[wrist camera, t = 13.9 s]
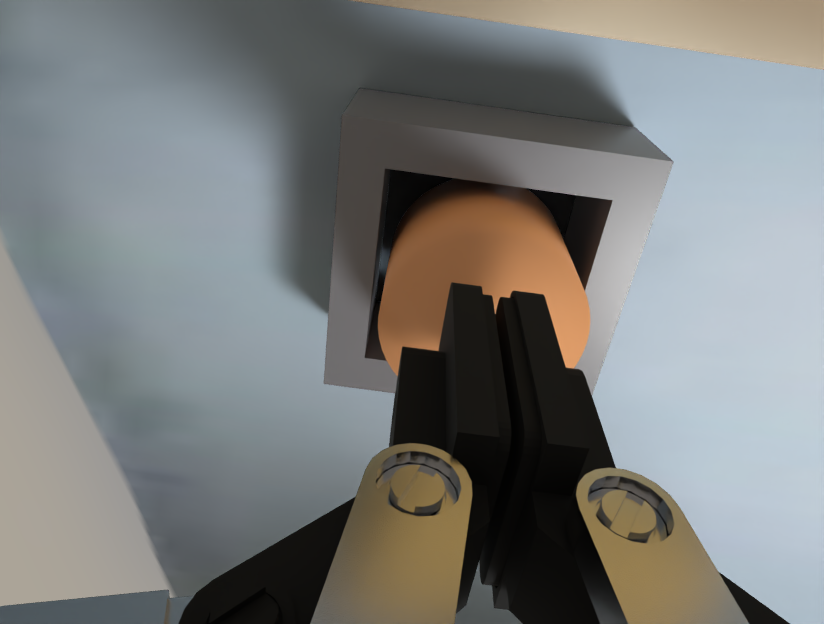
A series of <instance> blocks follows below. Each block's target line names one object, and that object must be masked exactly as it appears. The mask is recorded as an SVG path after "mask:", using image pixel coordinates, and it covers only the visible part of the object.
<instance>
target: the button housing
mask: <svg viewBox="0 0 824 624" xmlns="http://www.w3.org/2000/svg"><path fill="white" fill-rule="evenodd" d="M672 165H673V161H672V160H671V159H670V158H669V157H668V156H667V155H666V154H665V153H663V152H662V151H661V150H660V149H659V148H658V147H657V146H656V145H654V144H653V143H652V142H651V141H650V140H649V139H648V138H647V137H646V136H644V135H643V134H642V133H641V132H640V131H639V130H638V129H637V128H635V127H629V126H622V125H615V124H608V123H601V122H594V121H587V120H580V119H573V118H566V117H559V116H552V115H545V114H538V113H531V112H524V111H517V110H510V109H503V108H496V107H489V106H482V105H475V104H468V103H461V102H454V101H447V100H440V99H433V98H426V97H419V96H412V95H405V94H398V93H391V92H384V91H377V90H370V89H363V88H359V90H358V91H357V93H356V94H355V96H354V97H353V99H352V100H351V102H350V103H349V105H348V106H347V108H346V109H345V111H344V112H343V114H342V122H341V137H340V152H339V167H338V181H337V196H336V211H335V225H334V240H333V255H332V270H331V284H330V299H329V314H328V328H327V343H326V358H325V373H324V384H329V385H336V386H344V387H352V388H359V389H367V390H374V391H382V392H390V393H395V392H396V384H397V377H398V376H397V375H396V374H395V373H394V372H393V370H392V369H391V367H390V365H389V364H388V362H387V360H386V358H385V356H384V353H383V351H382V348H381V344H380V340H379V333H378V315H379V310H380V305H381V302H378V301H376V297H377V288H378V279H379V271H380V262H381V253H382V244H383V235H384V226H385V217H386V208H387V199H388V190H389V182H390V173H391V169H393V170H400V171H407V172H414V173H421V174H428V175H436V176H443V177H450V178H457V179H464V180H471V181H478V182H486V183H493V184H500V185H507V186H514V187H521V188H529V189H536V190H543V191H550V192H557V193H564V194H571V195H576V197H575V201H574V205H573V208H572V212H571V216H570V219H569V223H568V227H567V230H566V234H565V237H564V242H565V245H566V247H567V250H568V252H569V254H570V257H571V259H572V262H573V264H574V266H575V269H576V271H577V274H578V276H579V278H580V281H581V283H582V286H583V288H584V291H585V293H586V296H587V299H588V304H589V308H590V331H589V336H588V340H587V344H586V346H585V349H584V351H583V354H582V356H581V358H580V359H579V361H578V363H577V365H576V366H575V367H574V369H580V370H582V371H583V373H584V375H585V377H586V380H587V383H588V386H589V389H590V392H591V395H592V394H593V391H594V388H595V386H596V383H597V380H598V377H599V374H600V371H601V368H602V366H603V363H604V360H605V357H606V354H607V351H608V348H609V345H610V343H611V340H612V337H613V334H614V331H615V328H616V325H617V323H618V320H619V317H620V314H621V311H622V308H623V305H624V303H625V300H626V297H627V294H628V291H629V288H630V285H631V282H632V280H633V277H634V274H635V271H636V268H637V265H638V262H639V260H640V257H641V254H642V251H643V248H644V245H645V242H646V240H647V237H648V234H649V231H650V228H651V225H652V222H653V219H654V217H655V214H656V211H657V208H658V205H659V202H660V199H661V197H662V194H663V191H664V188H665V185H666V182H667V179H668V177H669V174H670V171H671V168H672Z"/></svg>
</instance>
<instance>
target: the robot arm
mask: <svg viewBox="0 0 824 624" xmlns="http://www.w3.org/2000/svg"><path fill="white" fill-rule="evenodd" d="M478 562H479V563H480V577H481V583H482V584H485V585H492V589H493V601H494V608H498V609H507V610H509V611H511V612H512V613H513V614H514V615H515V616H516V617H517V618H518V619H519V620H520V621H521V622H522V623H523V624H790V623H788V622H787V621H785V620H784V619H783V618H781V617H780V616H779V615H777V614H776V613H774V612H773V611H772V610H770V609H769V608H768V607H766V606H765V605H763V604H762V603H761V602H759V601H758V600H757V599H755V598H754V597H752V596H751V595H750V594H748V593H747V592H746V591H744V590H743V589H742V588H740V587H739V586H737V585H736V584H735V583H733V582H732V581H731V580H729V579H728V578H726V577H725V576H724V575H722V574H721V573H720V572H718V571H717V569H716V567H715V566H714V564H713V562H712V561H711V559H710V557H709V556H708V554H707V552H706V551H705V549H704V547H703V546H702V544H701V542H700V541H699V539H698V537H697V536H696V534H695V532H694V531H693V529H692V527H691V526H690V524H689V522H688V520H687V519H686V517H685V515H684V514H683V512H682V510H681V509H680V507H679V506H678V505H677V503H676V502H675V501H674V500H673V498H672V497H671V496H670V495H669V494H668V493H667V492H666V491H665V490H663V489H662V488H661V487H660V486H659V485H657V484H656V483H654V482H653V481H651V480H649V479H647V478H645V477H644V476H642V475H639V474H636V473H634V472H631V471H628V470H624V469H617V468H616V467H615V464H614V461H613V458H612V455H611V452H610V449H609V446H608V443H607V440H606V437H605V434H604V431H603V428H602V425H601V422H600V419H599V416H598V413H597V410H596V407H595V404H594V401H593V398H592V395H591V392H590V389H589V386H588V383H587V380H586V377H585V375H584V373H583V371H582V370H580V369H574V368H566V367H565V363H564V360H563V356H562V353H561V350H560V346H559V343H558V339H557V336H556V333H555V329H554V326H553V322H552V319H551V316H550V312H549V309H548V305H547V302H546V299H545V296H544V294H537V293H529V292H521V291H514V290H513V291H512V293H511V295H510V298H507V297H500V299H499V301H498V305H497V309H496V314H495V310H494V303H493V297H492V295H485V294H483V291H482V286H476V285H469V284H461V283H454V282H452V283H451V285H450V290H449V295H448V300H447V306H446V311H445V317H444V322H443V328H442V333H441V339H440V344H439V350H438V351H435V350H427V349H419V348H412V347H404V346H402V350H401V357H400V363H399V370H398V377H397V384H396V392H395V399H394V407H393V415H392V424H391V433H390V443H389V448H387V449H384V450H382V451H381V452H380V453H378V454H377V455H376V456H375V457H373V458H372V460H371V461H370V463H369V465H368V466H367V468H366V470H365V473H364V475H363V478H362V481H361V484H360V486H359V489H358V492H357V495H356V497H354V498H353V499H351V500H349V501H348V502H346V503H344V504H342V505H341V506H339V507H337V508H336V509H334V510H332V511H330V512H329V513H327V514H325V515H324V516H322V517H320V518H318V519H317V520H315V521H313V522H312V523H310V524H308V525H306V526H305V527H303V528H301V529H300V530H298V531H296V532H294V533H293V534H291V535H289V536H288V537H286V538H284V539H282V540H281V541H279V542H277V543H276V544H274V545H272V546H270V547H269V548H267V549H265V550H264V551H262V552H260V553H258V554H257V555H255V556H253V557H252V558H250V559H248V560H246V561H245V562H243V563H241V564H240V565H238V566H236V567H234V568H233V569H231V570H229V571H228V572H226V573H224V574H222V575H221V576H219V577H217V578H216V579H214V580H212V581H211V582H210V583H209V584H207V585H206V586H205V587H203V588H202V589H201V590H199V591H198V592H197V593H196V594H195V596H187V597H177V598H170V597H169V590H160V591H150V592H140V593H129V594H119V595H109V596H98V597H88V598H78V599H69V600H58V601H48V602H37V603H27V604H17V605H7V606H1V607H0V624H454V622H455V615H456V613H457V612H459V611H460V610H461V609H462V608H463V607H464V606H466V603H467V600H468V596H469V593H470V589H471V586H472V582H473V580H474V576H475V573H476V569H477V566H478Z"/></svg>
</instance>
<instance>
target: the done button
mask: <svg viewBox="0 0 824 624" xmlns="http://www.w3.org/2000/svg"><path fill="white" fill-rule="evenodd" d="M452 282H454V283H461V284H469V285H476V286H482V291H483V294H485V295H492V297H493V303H494V310H495V314H496V309H497V305H498V301H499V299H500V297H507V298H510V295H511V293H512V291H513V290H514V291H521V292H529V293H537V294H544V296H545V299H546V302H547V305H548V309H549V312H550V316H551V319H552V322H553V326H554V329H555V333H556V336H557V339H558V343H559V346H560V350H561V353H562V356H563V360H564V363H565V367H566V368H574V367H575V366H576V365H577V363H578V361H579V359H580V358H581V356H582V354H583V351H584V349H585V346H586V344H587V340H588V336H589V331H590V308H589V304H588V299H587V296H586V293H585V291H584V288H583V286H582V283H581V281H580V278H579V276H578V274H577V271H576V269H575V266H574V264H573V262H572V259H571V257H570V254H569V252H568V250H567V247H566V245H565V242H564V240H563V238H562V235H561V233H560V231H559V228H558V226H557V223H556V221H555V219H554V217H553V215H552V214H551V212H550V210H549V209H548V208H547V207H546V205H545V204H544V203H543V202H542V201H541V200H540V199H539V198H538V197H537V196H536V195H535V194H533V193H532V192H530V191H529V190H527V189H526V188H521V187H514V186H507V185H500V184H493V183H486V182H478V181H471V180H464V179H457V178H456V179H452V180H449V181H446V182H444V183H441V184H439V185H437V186H435V187H433V188H432V189H430V190H428V191H427V192H425V193H424V194H423V195H421V196H420V197H419V198H418V199H417V200H415V201H414V203H413V204H412V205H411V206H410V207H409V208H408V209H407V211H406V212H405V213H404V215H403V216H402V218H401V220H400V222H399V224H398V226H397V228H396V231H395V233H394V236H393V241H392V246H391V251H390V257H389V262H388V267H387V273H386V278H385V283H384V289H383V294H382V299H381V305H380V310H379V315H378V333H379V340H380V344H381V348H382V351H383V353H384V356H385V358H386V360H387V362H388V364H389V365H390V367H391V369H392V370H393V372H394V373H395V374H396V375H397V376H398V370H399V363H400V357H401V350H402V346H404V347H412V348H419V349H427V350H435V351H438V350H439V344H440V339H441V333H442V328H443V322H444V317H445V311H446V306H447V300H448V295H449V290H450V285H451V283H452Z"/></svg>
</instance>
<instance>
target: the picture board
mask: <svg viewBox="0 0 824 624" xmlns="http://www.w3.org/2000/svg"><path fill="white" fill-rule="evenodd" d="M350 1H357V2H364V3H371V4H377V5H384V6H391V7H398V8H405V9H412V10H419V11H425V12H432V13H439V14H446V15H453V16H460V17H467V18H473V19H480V20H487V21H494V22H501V23H508V24H514V25H521V26H528V27H535V28H542V29H549V30H556V31H562V32H569V33H576V34H583V35H590V36H597V37H604V38H610V39H617V40H624V41H631V42H638V43H645V44H651V45H658V46H665V47H672V48H679V49H686V50H693V51H699V52H706V53H713V54H720V55H727V56H734V57H741V58H747V59H754V60H761V61H768V62H775V63H782V64H788V65H795V66H802V67H809V68H816V69H823V70H824V0H350Z"/></svg>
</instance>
